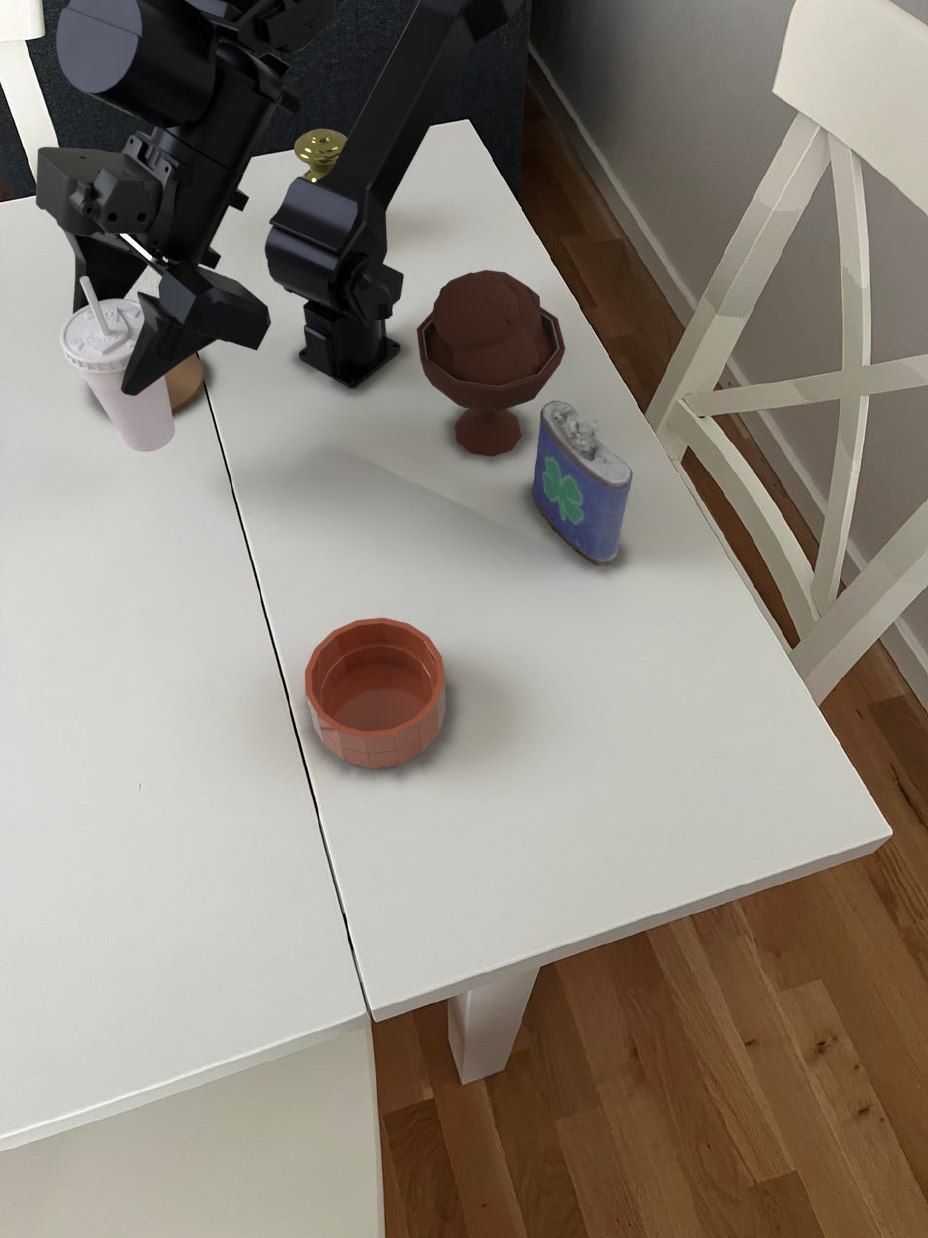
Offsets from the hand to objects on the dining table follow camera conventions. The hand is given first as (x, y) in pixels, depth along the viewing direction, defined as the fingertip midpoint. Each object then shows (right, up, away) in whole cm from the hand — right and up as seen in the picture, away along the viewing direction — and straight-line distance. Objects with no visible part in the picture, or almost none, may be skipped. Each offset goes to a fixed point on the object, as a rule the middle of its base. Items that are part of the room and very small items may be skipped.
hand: (102, 368), depth 66 cm
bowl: (+19, -23, -1) cm, 30 cm away
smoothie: (+1, -3, +7) cm, 7 cm away
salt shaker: (+12, +20, +29) cm, 37 cm away
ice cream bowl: (+26, -2, +14) cm, 30 cm away
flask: (+33, -10, +8) cm, 35 cm away
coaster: (-2, +3, +17) cm, 18 cm away
